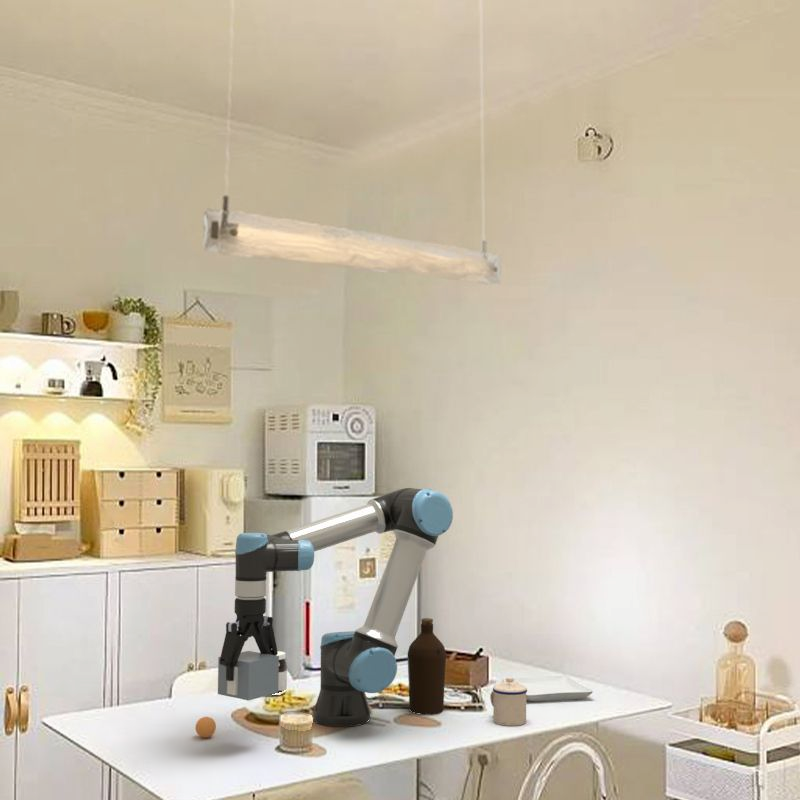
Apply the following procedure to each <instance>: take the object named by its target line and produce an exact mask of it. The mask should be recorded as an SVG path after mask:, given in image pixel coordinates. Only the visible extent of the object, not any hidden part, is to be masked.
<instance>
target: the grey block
mask: <svg viewBox="0 0 800 800" xmlns="http://www.w3.org/2000/svg"><path fill="white" fill-rule="evenodd" d="M220 657H221V656H218V657H217V658H218V663H217V666H218V667H217V669H218V670H217V695H219V696H220V695H221V696H225V697H228V698H229V697H230V698H235V699H239V700H243V701H251V700H255V699H259V698H262V697H269V696H268V695H272V694H275V693H278V677H279V656H276V655H270V654H264V653H260V652H257V651H252V650H247V651H241V653H240V656H239V658H238V661H237V663H236V665H235V667H238V695H231V694H227V680H226V666H223V665H221V664H220V663H219V661H220ZM225 660H226V659H225ZM231 662H232V660H231Z"/></svg>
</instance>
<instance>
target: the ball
mask: <svg viewBox="0 0 800 800" xmlns="http://www.w3.org/2000/svg"><path fill="white" fill-rule="evenodd" d="M216 730H217V724H216V721H215V720H214V719H213V718H212V717H210V716H203V717H201V718H199V719H198V720H197V721H196V724H195V732H196V734H197V735H198V736H199V737H200V738H204V739H206V738H210V737H212V736H213V735H214V733H215V732H216Z"/></svg>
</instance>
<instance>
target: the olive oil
mask: <svg viewBox="0 0 800 800" xmlns="http://www.w3.org/2000/svg"><path fill="white" fill-rule="evenodd" d="M420 619H421V624H420V633H419V634H418V636H417V637H415V639H414V640H413V641H412V642H411V643H410V645H409V647H408V650H407V675H408V676H407V677H408V701H409V702H408V704H409V705H408V709H410V710H411V711H412V712H411V711H410V710H409V711H410V712H411V713H413V712H415V713H414V714H416V713H420V714H419V715H426V714H429V715H437V714H440V713H442V711H443V712H444V704H445V702H444V701H445V681H446V680H445V679H446V664H447V663H446V662H447V652H446V648H445V646H444V644H443V643H442V641H440V639H439V638H438V637H437V636H436V635H435V634H434V624H433V623H434V619H433V618H429V617H428V618H420Z"/></svg>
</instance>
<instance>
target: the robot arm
mask: <svg viewBox="0 0 800 800" xmlns="http://www.w3.org/2000/svg"><path fill="white" fill-rule="evenodd" d="M453 512H454V511H453V507H452V505H451V503H450V500H449V499H448V497H447V496H446V495H445V494H443V493H442V492H440V491H437V490H433V489H431V488H423V489H422V488H412V487H406V488H401V489H397V490H393V491H391V492H388V493H386V494H382V495H381V496H378V497H375V498H372V499H369V500H368V501H367V502H366V504H365V505H362V506H359V507H356V508H352V509H349V510H347V511H343V512H340V513H336V514H334V515H330V516H327V517H324V518H321V519H318V520H315V521H312V522H310V523H309V522H308V523H306V524H302V525H299V526H296V527H293V528H290V529H287V530H284V531H281V532H278V533H275V534H266V533H263V532H243V533H239V534H238V535H237V537H236V542H235V551H234V553H235V581H234V583H235V584H234V596H236V598H235V599H234V614H235V615H236V620H235V621H234V622H229V621H227V622H226V624H225V636H224V641H223V645H222V648H221V654H220V656H219V657H220V661H219V663H220V664H221V665H223V666H226V680H227V694H231V695H238V667H235V665H236V663H237V661H238V658H239V656H240V653H241V652H243V647H244V646H245V643H246V641H248V640H249V638H251V637H253V638H254V641H255V643H256V645H257V648H258V651H259V653H264V654H270V655H277V654H278V651H279V650H278V647H277V642H276V638H275V637H276V636H275V631H274V626H273V623H274V618H273V617H272V616H266V615H265V614H266V612H267V599H266V598H265V597H266V596H267V573H268V572H269V573H273V572H300V571H307V570H310V569H311V568H312V567H313V565H314V562H315V552H317V551H321V550H323V549H326V548H330V547H332V546H336V545H340V544H341V543H346V542H348V541H351V540H354V539H357V538H359V537H363V536H366V535H369V534H371V533H374V532H375V533H377V534H383V533H386V532H393V534H394V536H395V541H394V544H393V547H392V550H391V552H390V555H389V556H388V557H389V558H388V560H387V563H386V565H385V568H384V571H383V574H382V576H381V579H380V581H379V585H378V587H377V590H376V592H375V595H374V597H373V599H372V602H371V605H370V608H369V611H368V612H367V616H366V619H365V620H364V623H363V625H362V626H361V627H358V628H357V629H355V631H338V632H337V631H334V632H327V633H324V634H323V635H322V636H321V641H320V647H319V650H320V690H319V694H318V696H317V700H316V703H315V707H314V708H313V709H314V710H313V717H314V720H315V721H314V720H313V721H314V722H315V723H317V724H319V725H322V726H328V727H330V726H331V727H356V726H360V725H361V726H362V725H364V724H366V722H367V721H368V720H369V719H370V720H371V709H370V706H369V703H368V698H367V695H366V693H367V694H377V693H380V692H383V691H384V690H386V689H387V688H388V687H390V685H391V684H392V683H393V682H394V681H395V678H396V676H397V672H398V663H397V660H396V657H395V655H396V652H397V650H398V647H399V646H398V642H397V641H396V635H397V633H398V630H399V627H400V625H401V622H402V619H403V616H404V614H405V610H406V609H407V605H408V603H409V600H410V597H411V594H412V592H413V589H414V586H415V584H416V581H417V578H418V576H419V573H420V571H421V568H422V564H423V562H424V559H425V557H426V554H427V551H428V550H430V549H433V548H435V547H436V544H437V541H438V539H439V536H441V535H443V534H444V533H446V532H447V531H449V529H450V527H451V525H452V522H453V518H454V513H453ZM225 659H226V660H225ZM231 660H232V662H231ZM367 723H368V722H367Z"/></svg>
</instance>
